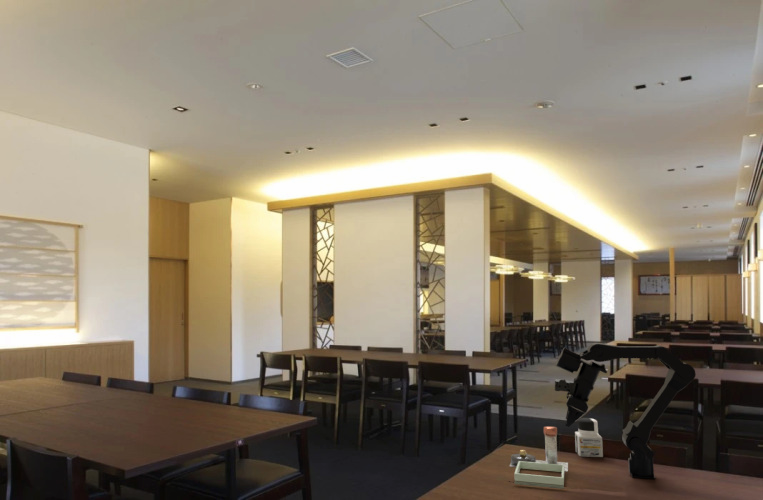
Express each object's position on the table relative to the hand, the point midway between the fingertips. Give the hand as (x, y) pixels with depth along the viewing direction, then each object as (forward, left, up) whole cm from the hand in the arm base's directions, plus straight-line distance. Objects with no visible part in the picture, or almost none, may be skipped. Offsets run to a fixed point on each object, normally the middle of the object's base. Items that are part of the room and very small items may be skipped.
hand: (567, 422), depth 176 cm
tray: (+8, +13, -15) cm, 21 cm away
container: (-7, -19, -15) cm, 25 cm away
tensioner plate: (+9, 0, -15) cm, 17 cm away
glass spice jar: (+5, 0, -14) cm, 15 cm away
